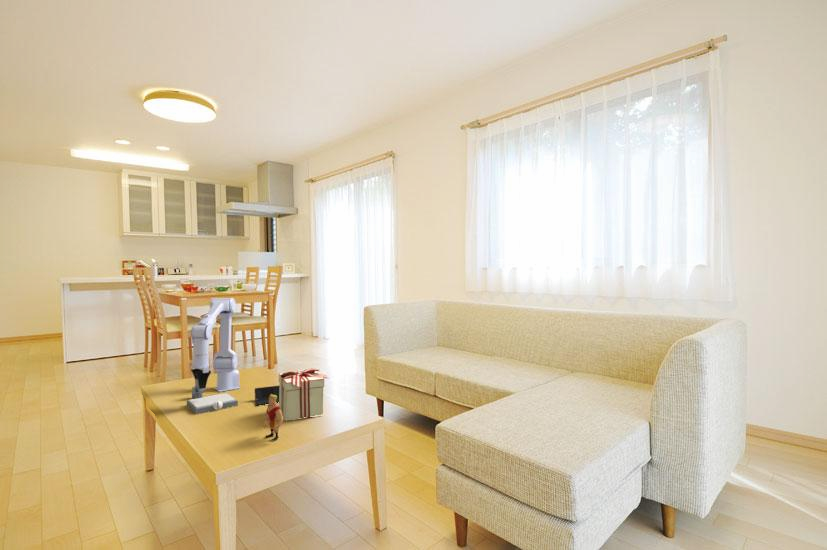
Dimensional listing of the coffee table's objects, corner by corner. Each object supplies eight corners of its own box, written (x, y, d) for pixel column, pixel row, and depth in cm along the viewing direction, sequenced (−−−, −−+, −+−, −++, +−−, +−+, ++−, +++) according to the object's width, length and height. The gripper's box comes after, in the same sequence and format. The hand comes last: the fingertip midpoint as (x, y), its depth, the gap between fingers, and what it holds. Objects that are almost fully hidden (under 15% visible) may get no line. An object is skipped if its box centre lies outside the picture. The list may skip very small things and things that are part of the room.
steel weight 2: (200, 396, 182) (200, 385, 182) (203, 398, 179) (203, 387, 179) (190, 398, 179) (190, 387, 179) (193, 400, 176) (193, 388, 176)
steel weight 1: (204, 389, 170) (204, 377, 170) (207, 391, 167) (207, 379, 167) (193, 390, 167) (194, 378, 167) (196, 393, 164) (196, 380, 164)
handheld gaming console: (258, 404, 167) (257, 381, 173) (253, 411, 172) (252, 388, 177) (285, 403, 174) (284, 381, 180) (280, 409, 178) (278, 388, 184)
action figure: (260, 435, 138) (260, 392, 138) (270, 432, 141) (270, 389, 141) (274, 443, 132) (274, 398, 132) (284, 440, 135) (284, 395, 135)
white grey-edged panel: (226, 397, 180) (226, 389, 180) (238, 406, 169) (238, 397, 169) (186, 405, 169) (186, 396, 169) (196, 414, 158) (196, 405, 158)
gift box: (288, 425, 148) (288, 378, 148) (275, 411, 163) (275, 368, 163) (332, 416, 157) (332, 372, 157) (316, 403, 173) (316, 363, 173)
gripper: (185, 352, 170) (185, 385, 170) (195, 358, 159) (194, 392, 159) (204, 350, 174) (203, 382, 174) (214, 355, 164) (214, 389, 164)
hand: (200, 387), depth 167 cm, fingers closed on steel weight 1, 4 cm apart
